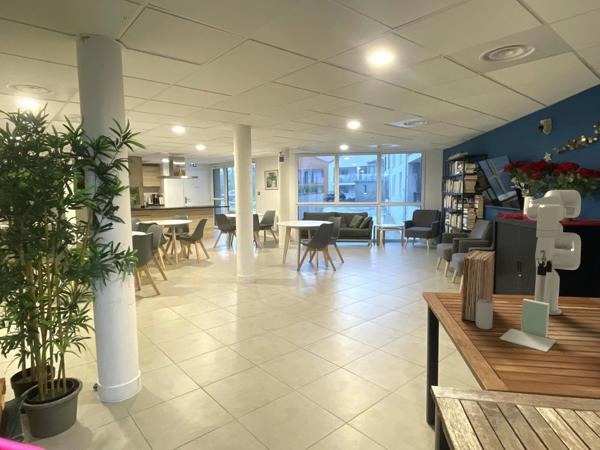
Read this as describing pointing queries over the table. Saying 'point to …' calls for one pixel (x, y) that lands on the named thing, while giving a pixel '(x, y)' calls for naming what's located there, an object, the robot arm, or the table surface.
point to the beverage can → (484, 314)
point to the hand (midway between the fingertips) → (544, 273)
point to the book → (477, 281)
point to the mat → (528, 340)
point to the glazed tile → (535, 317)
